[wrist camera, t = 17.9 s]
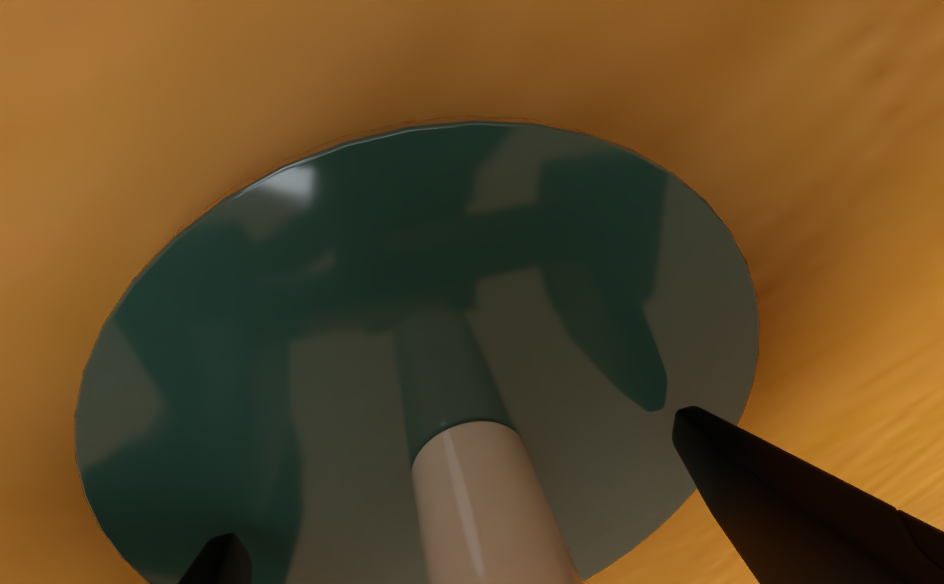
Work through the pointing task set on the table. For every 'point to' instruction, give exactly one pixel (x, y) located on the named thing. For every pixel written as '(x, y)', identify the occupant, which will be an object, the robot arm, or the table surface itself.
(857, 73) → the table surface
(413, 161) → the pot lid
